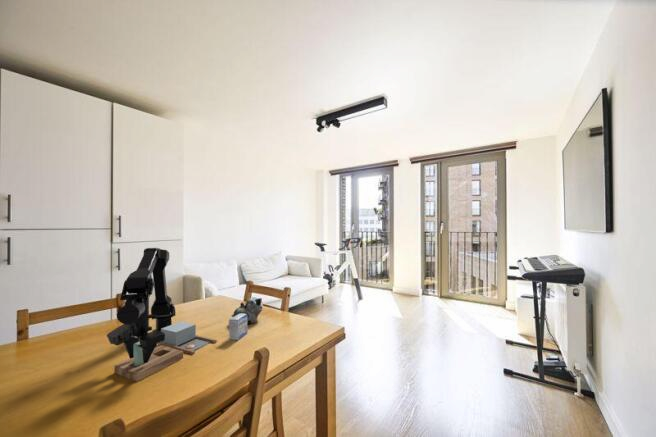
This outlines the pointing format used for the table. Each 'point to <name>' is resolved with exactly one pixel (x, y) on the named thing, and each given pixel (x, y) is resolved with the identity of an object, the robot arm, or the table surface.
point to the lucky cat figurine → (250, 309)
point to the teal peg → (138, 355)
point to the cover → (179, 333)
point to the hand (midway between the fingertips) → (138, 360)
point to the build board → (149, 363)
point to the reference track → (191, 344)
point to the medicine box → (238, 326)
